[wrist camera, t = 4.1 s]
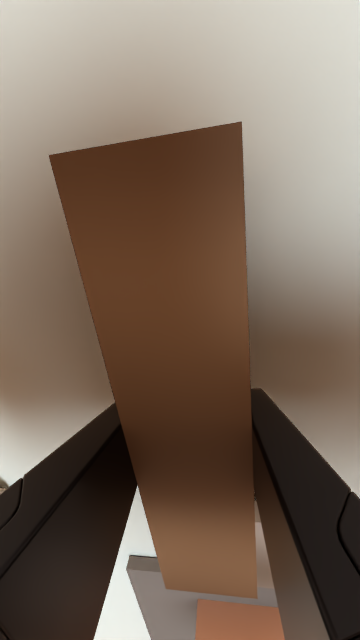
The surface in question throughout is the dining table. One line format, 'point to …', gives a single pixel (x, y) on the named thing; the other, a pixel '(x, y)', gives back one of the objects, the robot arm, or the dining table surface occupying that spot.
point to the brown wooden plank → (176, 340)
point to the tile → (237, 621)
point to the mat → (175, 601)
